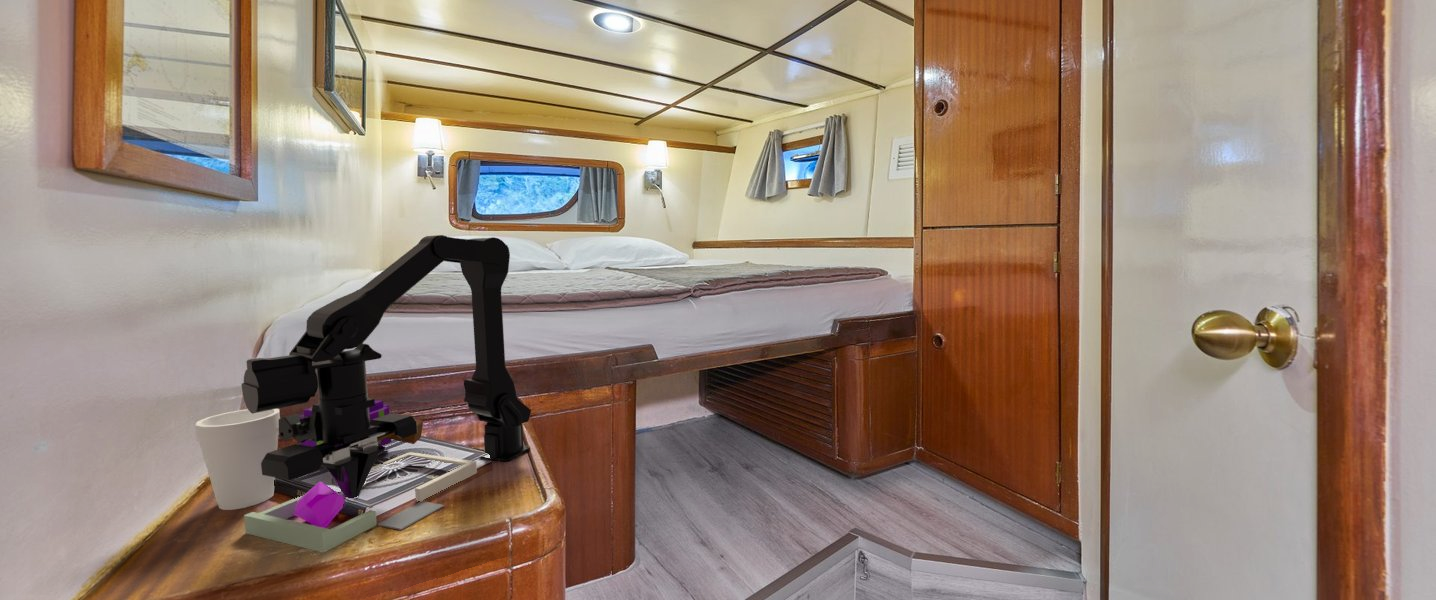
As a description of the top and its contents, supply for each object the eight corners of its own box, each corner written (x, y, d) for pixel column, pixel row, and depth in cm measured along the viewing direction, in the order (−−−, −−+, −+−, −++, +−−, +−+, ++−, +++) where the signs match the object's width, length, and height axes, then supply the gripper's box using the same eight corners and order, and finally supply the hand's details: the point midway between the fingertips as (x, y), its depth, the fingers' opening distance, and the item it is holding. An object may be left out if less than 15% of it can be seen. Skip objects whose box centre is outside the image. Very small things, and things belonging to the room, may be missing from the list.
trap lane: (410, 462, 93) (409, 449, 93) (476, 472, 89) (476, 458, 88) (245, 533, 70) (243, 515, 70) (323, 552, 65) (322, 533, 65)
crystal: (289, 528, 71) (286, 495, 71) (326, 509, 77) (324, 478, 76) (320, 532, 70) (317, 498, 70) (355, 512, 75) (353, 481, 75)
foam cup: (237, 517, 74) (228, 428, 73) (186, 512, 76) (177, 425, 75) (302, 488, 84) (295, 408, 82) (255, 484, 85) (248, 406, 84)
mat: (421, 502, 78) (421, 501, 78) (444, 506, 77) (443, 505, 77) (377, 525, 72) (377, 523, 72) (401, 530, 70) (401, 528, 70)
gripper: (365, 376, 86) (372, 468, 87) (228, 408, 68) (240, 523, 70) (416, 380, 82) (423, 476, 84) (285, 416, 65) (296, 536, 66)
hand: (352, 500), depth 76 cm, fingers closed
